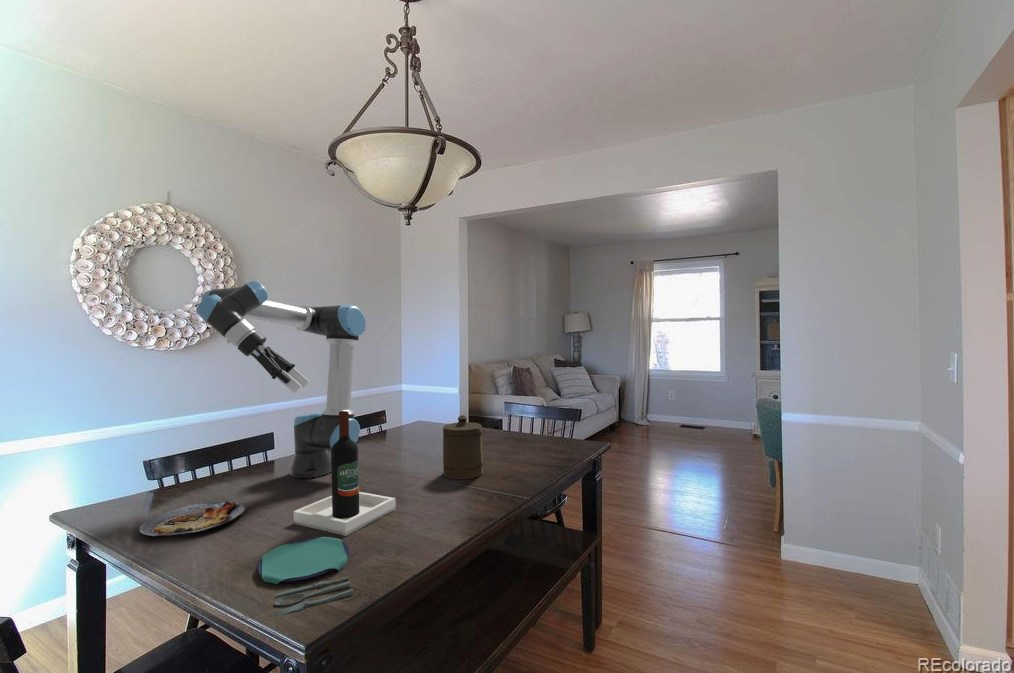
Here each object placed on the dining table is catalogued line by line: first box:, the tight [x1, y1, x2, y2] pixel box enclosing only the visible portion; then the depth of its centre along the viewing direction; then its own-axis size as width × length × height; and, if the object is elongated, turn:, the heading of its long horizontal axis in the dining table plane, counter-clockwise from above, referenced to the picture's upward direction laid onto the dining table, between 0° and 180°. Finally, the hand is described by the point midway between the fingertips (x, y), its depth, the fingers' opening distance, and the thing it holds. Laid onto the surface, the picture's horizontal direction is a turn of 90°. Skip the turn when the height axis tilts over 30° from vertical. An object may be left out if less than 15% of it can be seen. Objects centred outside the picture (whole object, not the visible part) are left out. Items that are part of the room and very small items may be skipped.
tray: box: [292, 491, 397, 537], centre depth 138 cm, size 20×20×4 cm
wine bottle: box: [330, 411, 360, 519], centre depth 138 cm, size 8×8×30 cm
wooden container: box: [442, 414, 484, 480], centre depth 177 cm, size 15×15×22 cm
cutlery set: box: [256, 536, 354, 617], centre depth 106 cm, size 20×30×2 cm, turn 27°
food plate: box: [139, 500, 247, 537], centre depth 136 cm, size 25×23×4 cm
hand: (302, 387), depth 143 cm, fingers open, 13 cm apart
